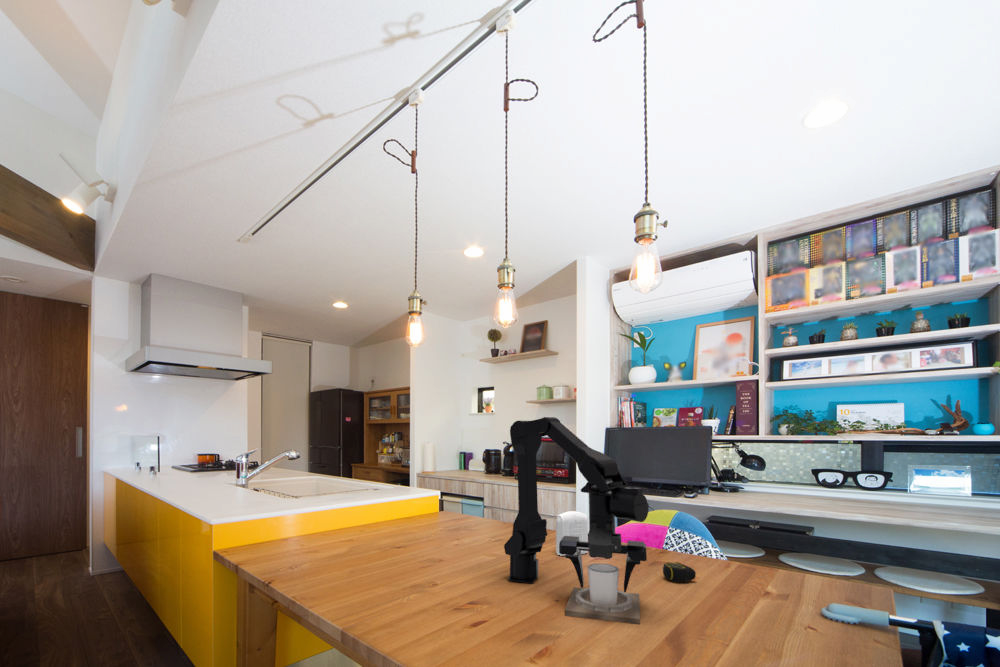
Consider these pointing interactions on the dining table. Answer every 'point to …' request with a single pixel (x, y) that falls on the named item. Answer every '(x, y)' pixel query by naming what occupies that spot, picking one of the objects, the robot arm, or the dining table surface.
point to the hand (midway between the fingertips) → (603, 589)
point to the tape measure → (678, 572)
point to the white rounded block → (571, 527)
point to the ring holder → (604, 607)
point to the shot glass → (603, 583)
